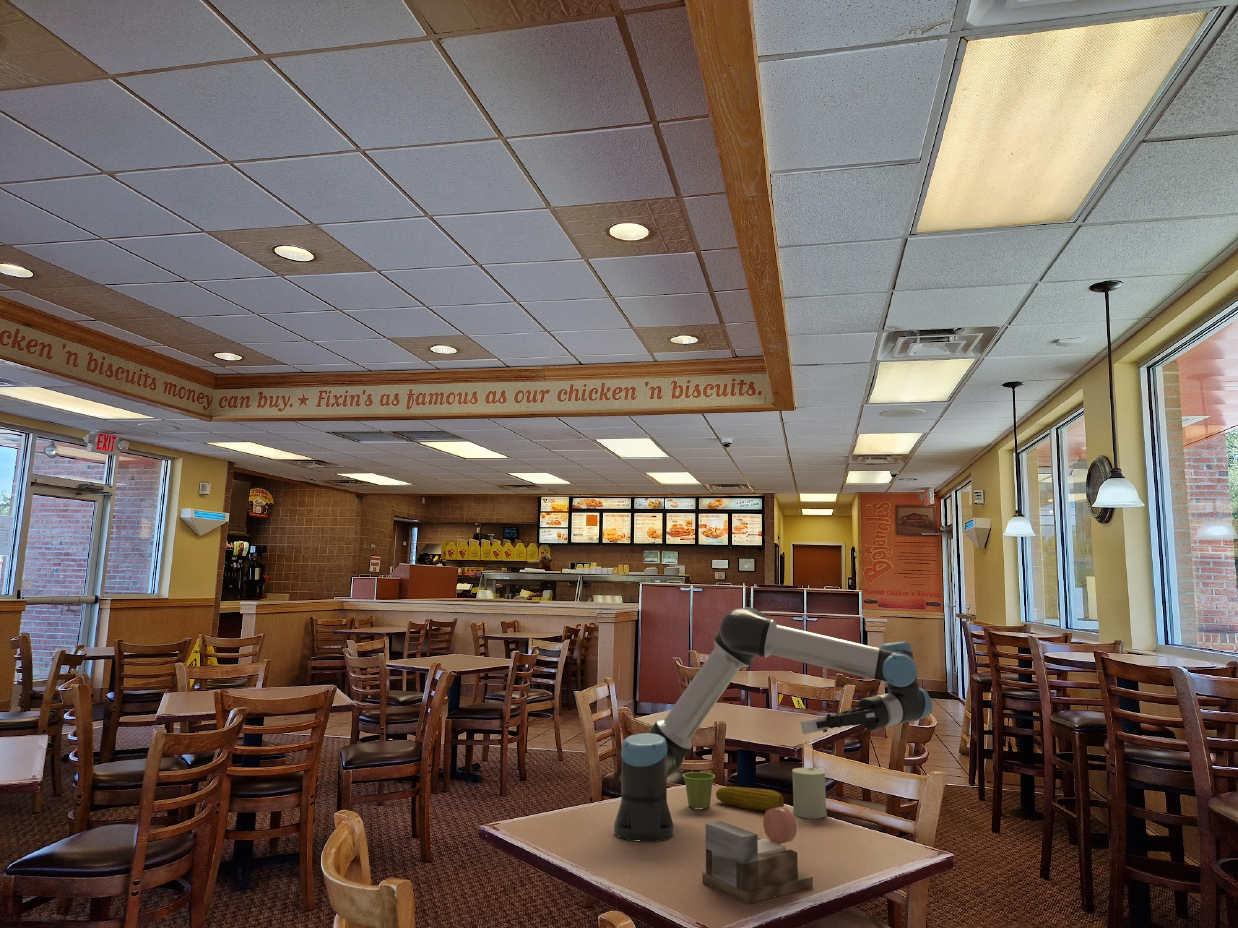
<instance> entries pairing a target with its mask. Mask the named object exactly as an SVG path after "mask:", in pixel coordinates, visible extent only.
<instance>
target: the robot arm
mask: <svg viewBox="0 0 1238 928" xmlns="http://www.w3.org/2000/svg"><path fill="white" fill-rule="evenodd" d="M713 643H714V649H713V650H712V652H711V653H710V654H709V656H708V657H707V659H706V660H705V661H704V663H703V664H702V665H701V667H700V669H699V670H698V672H697V673H696V674H695V676H694V677H693V678H692V680H691V681H690V683H689V684H688V686H687V687H686V688H685V690H684V691H683V693H681V695H680V697H679V698H678V699H677V701H676V703H675V704H674V705H673V707H672V708H671V709H670V711H669V712H668V714H667V716H666V717H664V718H658V719H657V720H656V721H655V723H654V724H653V726H652V727H651V728H650V729H649V731H648V733H647V732H646V733H645V732H644V733H643V732H642V733H637V734H632V735H631V734H630V735H629V736H627V737H625V738H624V740H623V741H622V745H621V751H620V757H621V787H620V788H621V789H620V790H621V793H620V794H621V797H620V799H621V800H620V804H619V807H618V811H617V814H616V817H615V821H614V823H613V825H614V826H613V833H614V832H615V834H616V835H617V836H616V835H615V834H614V835H615V836H616V837H618V836H620V837H622V838H624V839H623V840H626V839H630V840H629V841H631V840H640V841H639V842H641V841H651V842H657V841H656V840H660V841H664V839H665V840H667V839H670V838H672V837H673V836H674V832H675V831H674V822H673V819H672V815H671V812H670V808H669V805H668V801H667V798H668V797H667V793H668V792H667V791H668V788H667V787H668V786H667V784H668V778H669V777H671V776H672V775H673V774H675V773H676V772H677V771H678V770H679V769H680V768H681V767H682V764H683V762H684V758H686V756H687V754H688V753H689V751H690V750H691V749H692V746H693V745H692V738H693V736H694V735H695V733H696V731H697V730H698V729H699V728H700V727H701V725H702V723H703V721H705V719H706V718H707V716H708V715H709V713H710V712H711V710H712V709H713V708H714V706H715V705H716V703H717V702H718V701H719V699H720V698H721V696H722V695H723V694H724V692H725V691H726V689H727V688H728V687H729V685H730V683H731V682H732V681H733V679H734V678H735V676H736V675H737V674H738V672H739V671H740V669H742V668H745V667H746V668H747V667H749V666H750V665H751V664H752V662H753V661H754V660H755V658H756V657H757V656H759V657H763V658H768V657H770V656H771V655H772V656H776V657H780V658H785V659H789V660H793V661H796V662H797V661H798V662H800V663H804V664H805V663H806V664H810V665H814V666H817V667H822V668H826V669H830V670H834V671H838V672H842V673H847V674H852V675H855V676H860V677H863V678H867V679H872V680H876V681H879V682H884V683H886V687H887V691H888V693H883V694H877V695H874V696H869V697H864V698H861V699H860V700H859V701H858V703H857V705H856V707H853V708H848V710H843V711H841V712H838V713H836V714H831V713H826V716H823V717H822V716H821V717H818V718H812V719H810V720H804V721H800V728H801V730H802V734H803V735H807V734H812V733H817V732H822V731H823V732H822V733H828V730H829V729H834V728H841V727H851V726H862V727H863V728H865V729H866V730H869V731H875V730H879V729H884V728H887V727H889V729H894V726H895V725H900V724H906V723H911V722H917V721H919V720H922V719H925V718H927V717H928V716H930V714H931V713H932V710H933V700H932V697H930V696H929V693H928V692H927V691H926V690H925V689H923V688H921V687H920V686H919V681H918V669H917V668H918V667H917V664H916V662H915V659H914V653H913V651H912V645H911V644H910V643H909V642H908V641H896V642H888V643H882V644H881V645H880V647H875V646H870V645H867V644H866V645H865V644H863V643H858V642H853V641H848V640H845V639H839V638H835V637H831V636H829V635H823V634H819V633H814V632H810V631H806V630H801V629H796V628H793V627H787V626H784V625H779V624H777V622H776V621H775V619H773V618H772V619H771V618H767V616H766V615H765V614H764V613H763V612H761V611H759V610H758V609H757V608H754V607H748V606H746V607H740V608H735V609H732V610H729V611H728V612H727V613H726V614H725V615H724V616H723V618H722V620H721V621H720V625H719V632H718V633H717V635H716V636H715V637H714V639H713ZM620 837H619V838H620ZM622 838H621V839H622Z"/></svg>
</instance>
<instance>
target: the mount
mask: <svg viewBox="0 0 1238 928" xmlns="http://www.w3.org/2000/svg"><path fill="white" fill-rule="evenodd" d="M760 839H762V838H761V837H758V834H757V833H754V832H752V831H749V830H747V829H744V828H741V827H739V826H736V825H732V824H730V823H727V822H726V821H722V820H717V821H716V820H715V821H711V822H706V823H705V871H703V872H702V873H701V875H702V882H701V883H703V884H704V883H705V885H706V884H707V885H706V886H708V885H709V886H708V887H711V886H712V887H711V888H713V889H715V888H716V889H715V890H717V889H718V890H717V891H719V890H720V891H719V892H721V891H722V892H721V893H723V892H724V893H723V894H725V893H726V894H725V895H727V894H728V895H727V896H729V895H730V896H729V897H731V896H732V897H731V898H733V897H735V898H736V900H738V899H739V900H738V901H740V902H742V901H743V902H742V903H744V902H745V903H744V904H746V905H750V904H749V903H751V904H753V903H752V902H755V903H757V902H756V901H758V902H762V901H765V900H764V899H766V900H768V899H767V898H769V897H774V896H778V897H780V896H784V895H789V894H793V893H796V892H800V891H803V890H808V889H812V888H814V886H813V885H814V883H813V880H814V879H813V876H812V875H809V874H806V873H804V872H801V871H798V870H799V869H798V865H799V864H798V863H799V862H798V851H795V850H793V849H786V851H781V852H776V853H772V854H767V855H763V856H758V840H760ZM792 892H793V893H792ZM735 898H734V899H735ZM774 898H775V897H774ZM761 900H762V901H761Z"/></svg>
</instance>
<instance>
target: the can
mask: <svg viewBox="0 0 1238 928" xmlns="http://www.w3.org/2000/svg"><path fill="white" fill-rule="evenodd" d="M791 772H792V773H791V774H792V794H793V795H792V799H793V802H792V803H793V804H792V805H793V807H792V809H793V810H792V815H793V816H796V817H800V818H803V819H813V820H814V819H815V820H819V819H823V818H822V817H823V816H824V818H826V817H827V816H828V813H827V802H826V801H827V800H826V796H827V795H826V771H825V770H823V769H819V768H814V767H796V768H792V770H791ZM817 818H818V819H817Z"/></svg>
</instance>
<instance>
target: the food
mask: <svg viewBox="0 0 1238 928" xmlns="http://www.w3.org/2000/svg"><path fill="white" fill-rule="evenodd" d="M715 796H716V799H717V800H718V801H720V802H721V803H723V804H725V805H728V806H734V807H736V806H737V807H738V808H741V809H747V810H754V811H755V810H756V811H759V812H765V813H766V811H767V810H769V809H773V808H778V807H785V803H784V796H782V794H781V793H779V792H778V791H776V790H773V789H772V790H771V789H763V788H756V787H755V788H754V787H752V788H751V787H743V786H742V787H741V786H723V787H720V788H718V789H717V790H716V792H715Z"/></svg>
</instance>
